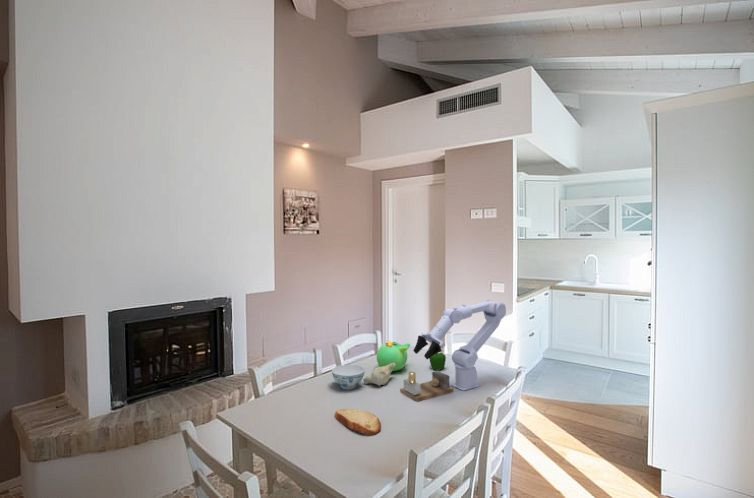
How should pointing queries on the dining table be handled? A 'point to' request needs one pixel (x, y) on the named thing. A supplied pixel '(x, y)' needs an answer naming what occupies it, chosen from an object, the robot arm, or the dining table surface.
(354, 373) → the chinaware
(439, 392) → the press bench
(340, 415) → the bread slice
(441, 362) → the bell pepper
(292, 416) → the dining table surface
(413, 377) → the jaw
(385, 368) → the ginger root
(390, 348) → the toy bird
